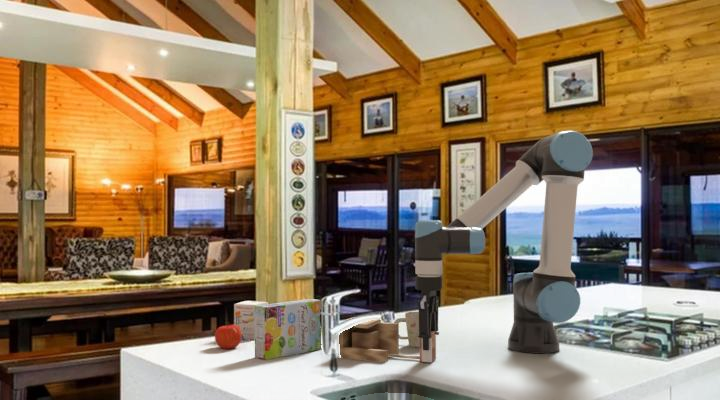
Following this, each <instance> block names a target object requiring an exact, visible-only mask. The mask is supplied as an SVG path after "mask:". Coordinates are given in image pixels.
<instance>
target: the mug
mask: <svg viewBox="0 0 720 400" xmlns="http://www.w3.org/2000/svg"><path fill="white" fill-rule="evenodd" d="M404 314H405V316H404V317H398V318H396V319H395V320H394V322H393V323H399V324H400V323H405V324H406V332H407V336H401V335H400V334H399V340H402V341H403V340H408V341H407V342H408V346H409V347H411V346H412V348H420V338H419V337H418V335H419V311H407V312H405V313H404Z"/></svg>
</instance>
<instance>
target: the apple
mask: <svg viewBox="0 0 720 400" xmlns="http://www.w3.org/2000/svg"><path fill="white" fill-rule="evenodd" d="M241 337H242V333H241V330H240V328H239V327H238V326H237V325H234V324H230V321H228V322H227V325H222V326H219V327H218V328H217V329H216V330H215V334H214V340H215V343H216V345H217V346H218V347H219V348H221V349H224V350H229V349H231V350H232V349H235V348H237V347H238V346H239V345H240V343H241V341H242V339H241Z"/></svg>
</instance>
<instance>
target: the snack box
mask: <svg viewBox="0 0 720 400" xmlns="http://www.w3.org/2000/svg"><path fill="white" fill-rule="evenodd" d="M320 310H321V311H322V300H320V299H315V298H309V299H308V298H307V299H300V300H292V301H291V300H290V301H283V302H276V303H268V304H266V305H258V306H255V307H254V312H255V340H254V357H257V359H260V358H261V359H262V360H264V359H268V360H272V359H271V358H273V359H277V358H282V357H287V356H293V355H297V354H303V353H309V352H314V351H319V350H322V349H321V345H322V346H323V343H322V344H321V332H322V327H321V328H320ZM261 359H260V360H261Z"/></svg>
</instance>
